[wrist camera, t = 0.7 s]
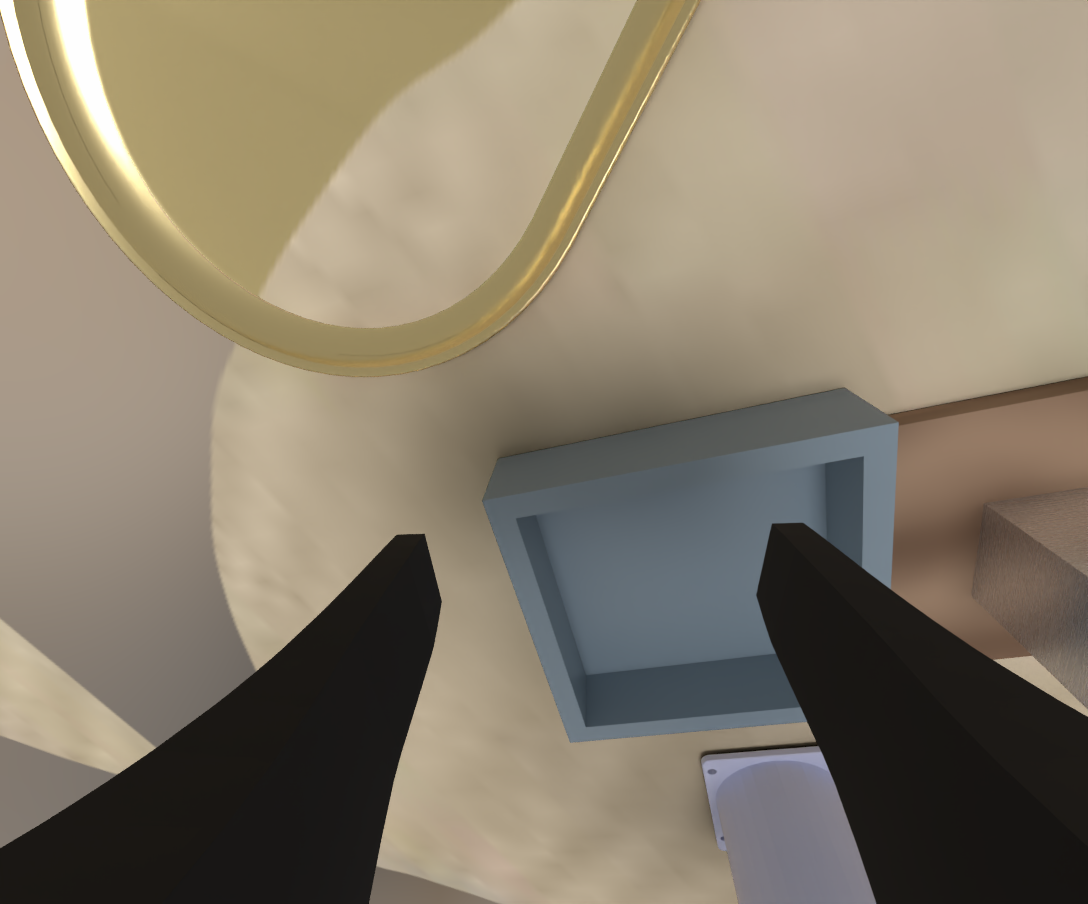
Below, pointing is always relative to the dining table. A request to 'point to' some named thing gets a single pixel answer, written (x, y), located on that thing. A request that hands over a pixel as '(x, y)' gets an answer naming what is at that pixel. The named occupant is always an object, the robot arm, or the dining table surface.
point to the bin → (684, 556)
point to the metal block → (1039, 579)
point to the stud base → (977, 492)
